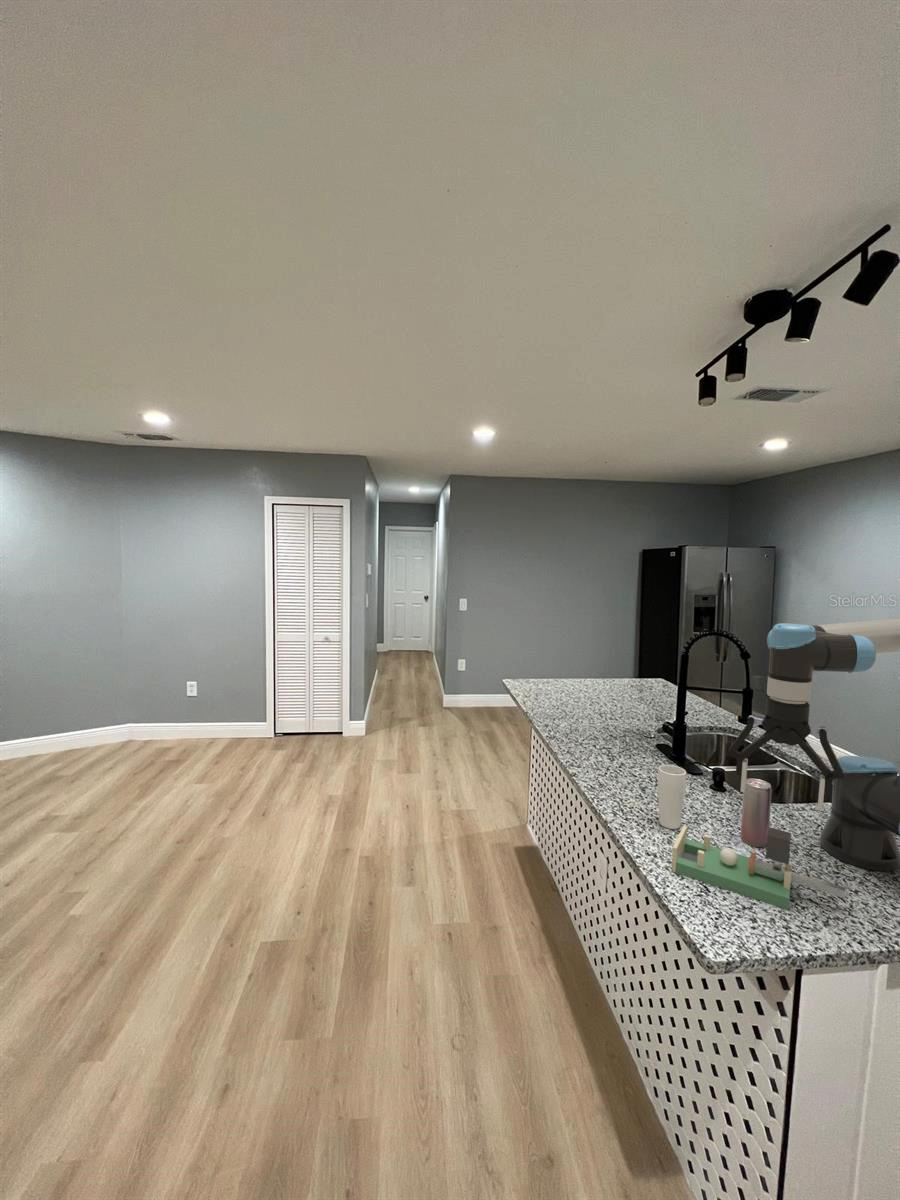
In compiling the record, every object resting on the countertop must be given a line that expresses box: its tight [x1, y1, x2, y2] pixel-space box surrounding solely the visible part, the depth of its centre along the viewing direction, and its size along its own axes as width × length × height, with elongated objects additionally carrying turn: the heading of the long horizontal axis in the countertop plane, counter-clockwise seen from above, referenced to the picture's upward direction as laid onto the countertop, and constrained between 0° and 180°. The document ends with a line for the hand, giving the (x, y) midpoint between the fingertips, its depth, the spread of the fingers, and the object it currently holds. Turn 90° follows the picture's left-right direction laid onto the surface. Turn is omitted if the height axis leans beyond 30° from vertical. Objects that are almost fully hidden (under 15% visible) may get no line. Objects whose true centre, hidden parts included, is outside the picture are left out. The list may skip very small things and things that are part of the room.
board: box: [671, 825, 793, 911], centre depth 115 cm, size 22×12×6 cm, turn 55°
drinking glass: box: [657, 764, 687, 830], centre depth 136 cm, size 7×7×15 cm
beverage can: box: [740, 777, 773, 848], centre depth 129 cm, size 6×6×15 cm
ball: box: [720, 847, 738, 866], centre depth 115 cm, size 4×4×4 cm
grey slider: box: [748, 826, 846, 899], centre depth 108 cm, size 16×4×9 cm, turn 55°
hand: (780, 798), depth 109 cm, fingers open, 13 cm apart
